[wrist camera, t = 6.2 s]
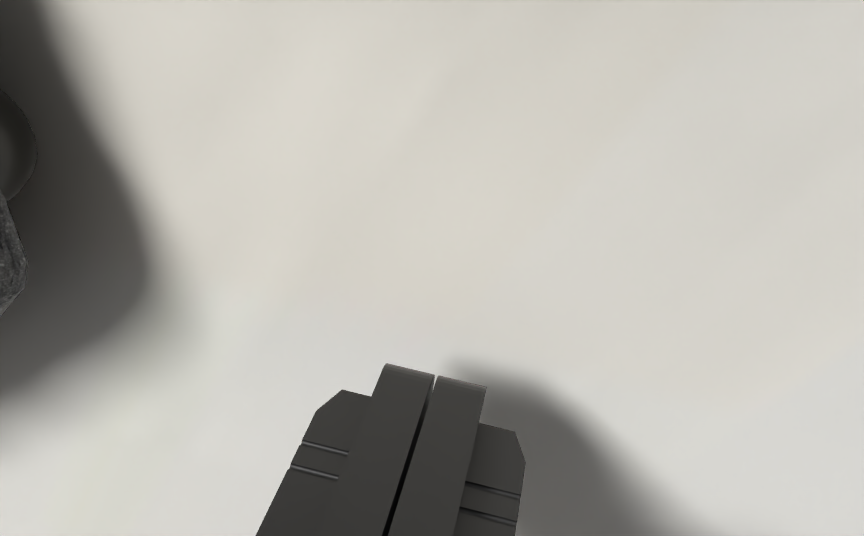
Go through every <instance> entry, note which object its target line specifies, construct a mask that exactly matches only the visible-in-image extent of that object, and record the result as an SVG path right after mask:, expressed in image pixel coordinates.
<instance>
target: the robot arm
mask: <svg viewBox="0 0 864 536" xmlns="http://www.w3.org/2000/svg"><path fill="white" fill-rule="evenodd" d="M434 378H435V375H433V374H429V373H425V372H421V371H417V370H412V369H408V368H404V367H400V366H396V365H392V364H385V366H384V368H383V370H382V372H381V375H380V377H379V379H378V382H377V384H376V387H375V389H374V392H373V394H372V397H370V396H366V395H362V394H358V393H354V392H350V391H346V390H341V391H340V392H339V393H337V394H336V395H335V396H334V397H333V398H331V399H330V400H329V401H328V402H327V403H325V404H324V405H323V406H322V407H320V408H319V409H318V410H317V411H316V412H315V415H314V417H313V419H312V421H311V423H310V425H309V427H308V429H307V431H306V433H305V435H304V437H303V439H302V444H301V445H299V448H298V450H297V452H296V454H295V456H294V458H293V460H292V462H291V466H290V469H288V470H287V472H286V474H285V476H284V478H283V481H282V483H281V485H280V487H279V489H278V491H277V493H276V495H275V497H274V499H273V501H272V503H271V505H270V507H269V509H268V511H267V513H266V516H265V518H264V520H263V522H262V524H261V526H260V528H259V530H258V532H257V534H256V536H515V531H516V523H517V517H518V510H519V504H520V496H521V490H522V483H523V476H524V469H525V460H524V457H523V454H522V451H521V448H520V446H519V443H518V440H517V437H516V434H515V432H513V431H509V430H505V429H501V428H497V427H493V426H489V425H485V424H481V423H479V419H480V414H481V410H482V406H483V401H484V397H485V392H486V388H487V387H484V386H480V385H476V384H472V383H467V382H463V381H459V380H455V379H451V378H447V377H442V376H438V377H437V380H436V383H435V386H434V389H433V385H434ZM432 391H433V393H432Z"/></svg>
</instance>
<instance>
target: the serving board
mask: <svg viewBox="0 0 864 536" xmlns="http://www.w3.org/2000/svg"><path fill="white" fill-rule="evenodd" d="M36 158H37V148H36V140H35V136H34V134H33V131H32V129H31V127H30V124H29V122H28V120H27V118H26V117H25V115H24V114H23V113H22V111H21V110H20V109H19V107H18V106H17V104H16V103H15V102H14V101H13V100H12V99H11V98H10V97H8V96H7V95H6V94H5V93H4V92H3V91H2V90H1V89H0V317H1V316H2V315H3V313H4V312H5V311H6V309H7V308H8V307H9V305H10V304H11V303H12V302H13V301H14V300H15V298H16V297H17V296H18V295H19V294H20V293H21V291H22V290H23V289H24V288H25V286H26V277H27V269H28V259H27V256H26V253H25V250H24V248H23V245H22V242H21V240H20V237H19V234H18V232H17V229H16V226H15V224H14V221H13V218H12V215H11V213H10V210H9V207H8V205H7V202H6V201H8V200H10V199H12V198H13V197H14V196H15V195H16V194H18V193H19V191H20V190H21V189H22V187H23V186H24V185H25V184H26V182H27V181H28V180H29V178H30V177H31V176H32V173H33V171H34V167H35V163H36Z"/></svg>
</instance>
